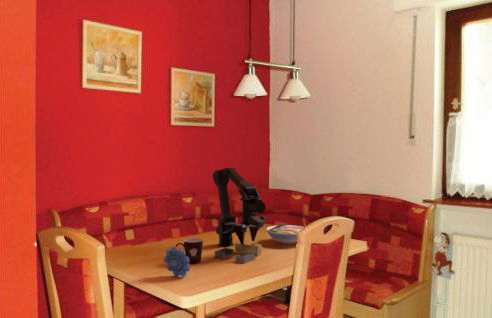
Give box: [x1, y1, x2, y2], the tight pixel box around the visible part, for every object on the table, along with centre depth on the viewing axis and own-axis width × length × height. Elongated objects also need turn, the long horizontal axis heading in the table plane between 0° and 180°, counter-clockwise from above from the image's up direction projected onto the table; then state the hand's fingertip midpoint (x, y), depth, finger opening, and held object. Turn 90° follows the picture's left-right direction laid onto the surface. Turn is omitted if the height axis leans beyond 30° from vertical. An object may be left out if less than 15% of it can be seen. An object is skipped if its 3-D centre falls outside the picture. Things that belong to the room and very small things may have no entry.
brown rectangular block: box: [234, 240, 263, 257], centre depth 218 cm, size 13×4×5 cm, turn 59°
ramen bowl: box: [265, 222, 305, 245], centre depth 240 cm, size 25×23×8 cm
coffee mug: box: [175, 237, 204, 265], centre depth 203 cm, size 12×9×10 cm
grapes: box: [163, 246, 191, 277], centre depth 181 cm, size 12×7×12 cm, turn 70°
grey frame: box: [213, 247, 256, 264], centre depth 209 cm, size 17×9×3 cm, turn 55°
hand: (247, 242), depth 218 cm, fingers open, 9 cm apart
